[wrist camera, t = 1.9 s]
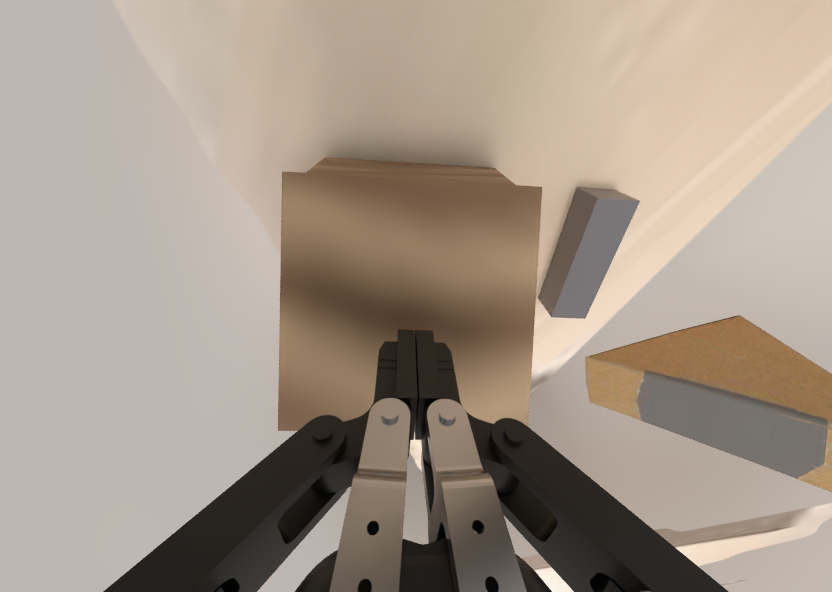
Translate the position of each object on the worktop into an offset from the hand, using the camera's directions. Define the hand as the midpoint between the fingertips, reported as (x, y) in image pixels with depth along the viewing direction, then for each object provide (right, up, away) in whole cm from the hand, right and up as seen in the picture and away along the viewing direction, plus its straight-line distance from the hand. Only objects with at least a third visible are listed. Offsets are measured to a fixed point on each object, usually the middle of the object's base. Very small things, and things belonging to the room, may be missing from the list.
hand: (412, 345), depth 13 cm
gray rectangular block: (+13, +6, +13) cm, 20 cm away
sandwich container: (+27, -5, +21) cm, 34 cm away
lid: (0, +2, +3) cm, 3 cm away
